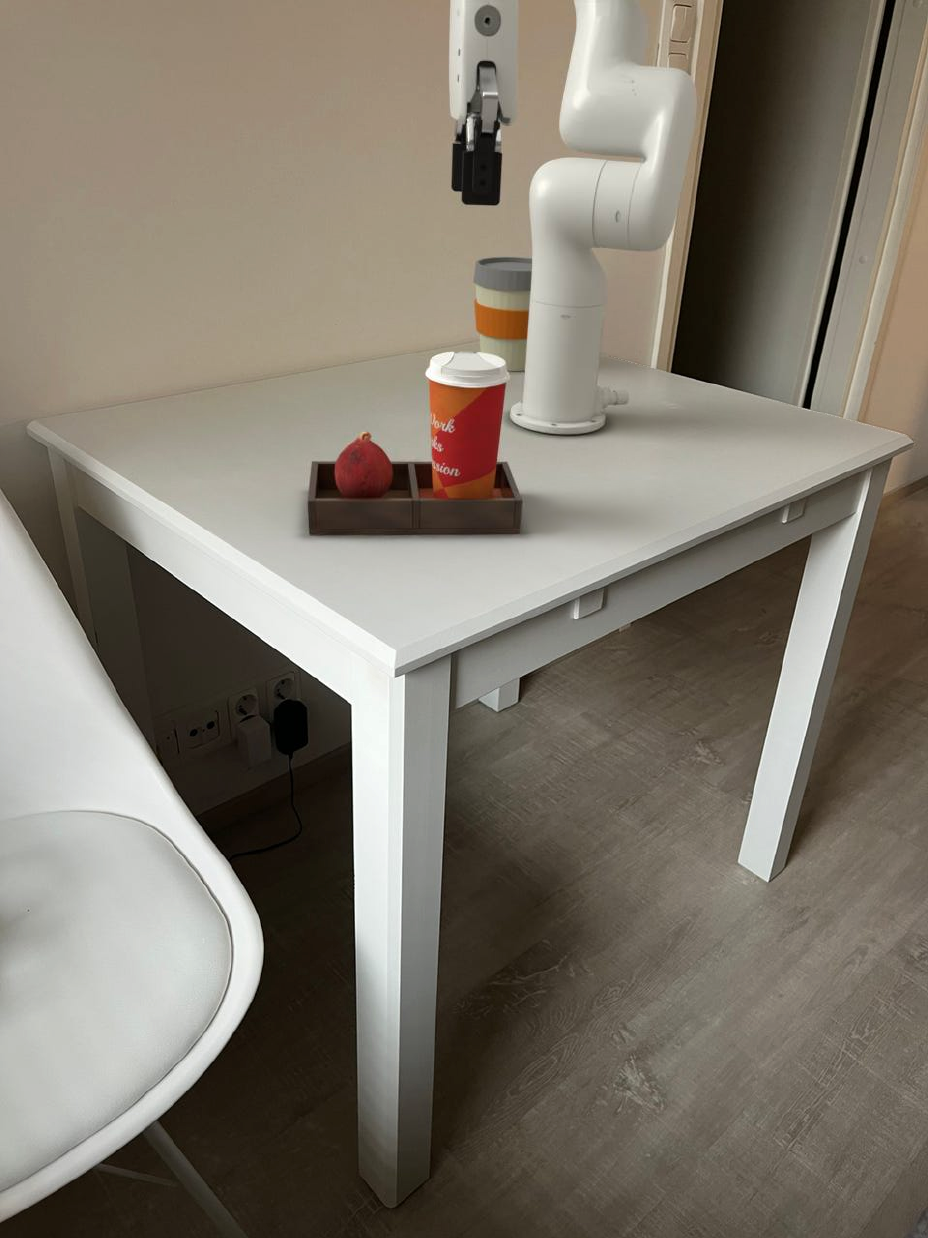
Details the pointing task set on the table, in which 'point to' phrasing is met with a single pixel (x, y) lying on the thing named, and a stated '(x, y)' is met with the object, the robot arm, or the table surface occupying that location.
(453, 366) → the coffee cup
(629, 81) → the robot arm
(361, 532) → the organizer
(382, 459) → the red round fruit
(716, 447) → the table surface
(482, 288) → the reusable coffee cup
